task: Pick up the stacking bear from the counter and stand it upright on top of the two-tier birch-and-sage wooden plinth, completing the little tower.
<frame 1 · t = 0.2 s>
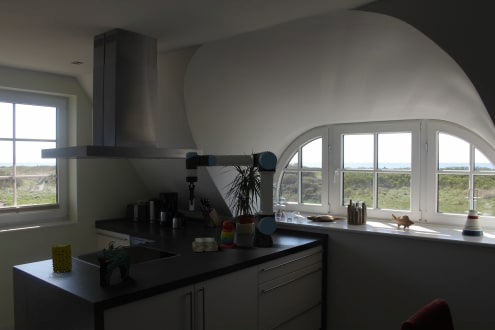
hand: (192, 209, 250), 28 cm above the worktop, tool pointing down, fingers open, 13 cm apart
plinth: (204, 248, 261), on the worktop
stacking bear: (228, 246, 267), on the worktop
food: (62, 271, 209), on the worktop
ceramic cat: (114, 281, 190), on the worktop
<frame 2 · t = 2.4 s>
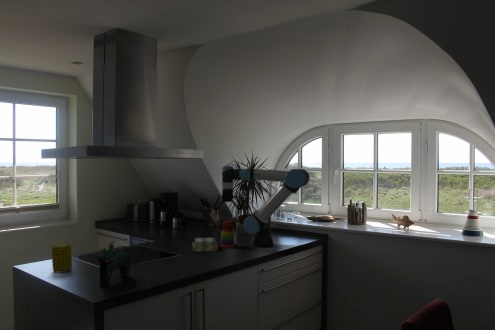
hand: (227, 219, 267), 19 cm above the worktop, tool pointing down, fingers open, 13 cm apart
nothing on the worktop moved.
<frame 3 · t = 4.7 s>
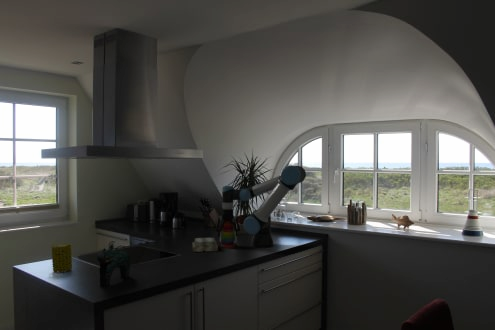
hand: (227, 241, 267), 4 cm above the worktop, tool pointing down, fingers closed on stacking bear, 9 cm apart
stacking bear: (228, 246, 267), on the worktop, touching gripper
everything else where it was.
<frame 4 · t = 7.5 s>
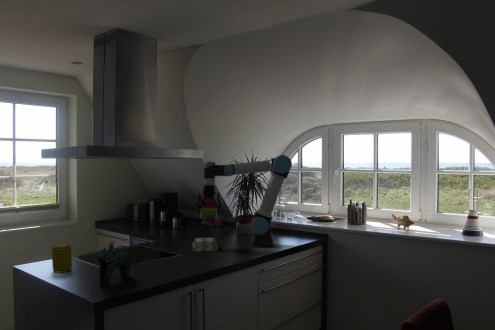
hand: (208, 218, 262), 20 cm above the worktop, tool pointing down, fingers closed on stacking bear, 9 cm apart
stacking bear: (209, 223, 262), point 17 cm above the worktop, touching gripper
everything else where it was.
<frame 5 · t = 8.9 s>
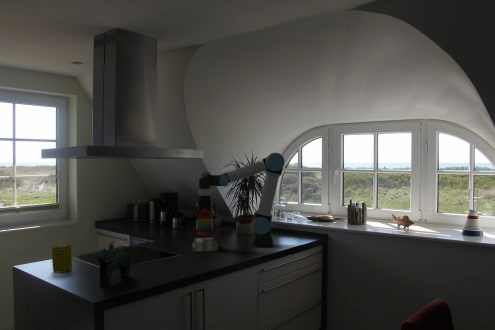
hand: (204, 228, 261), 13 cm above the worktop, tool pointing down, fingers closed on stacking bear, 9 cm apart
stacking bear: (205, 234, 261), point 10 cm above the worktop, touching gripper
everything else where it was.
when the fingers open (11 cm above the worktop, at t = 10.3 s): stacking bear drops 1 cm, resting on plinth.
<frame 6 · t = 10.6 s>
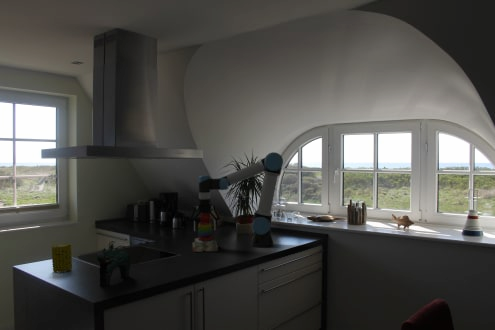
hand: (204, 230, 261), 12 cm above the worktop, tool pointing down, fingers open, 13 cm apart
stacking bear: (205, 240, 261), point 6 cm above the worktop, touching plinth
everything else where it was.
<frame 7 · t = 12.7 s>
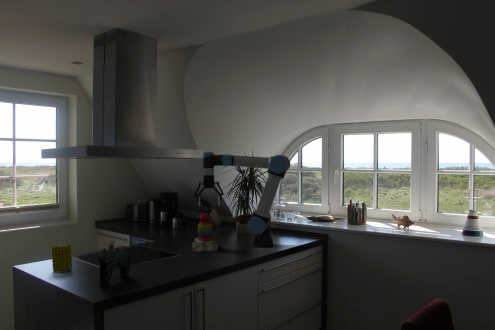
hand: (209, 205, 266), 28 cm above the worktop, tool pointing down, fingers open, 13 cm apart
nothing on the worktop moved.
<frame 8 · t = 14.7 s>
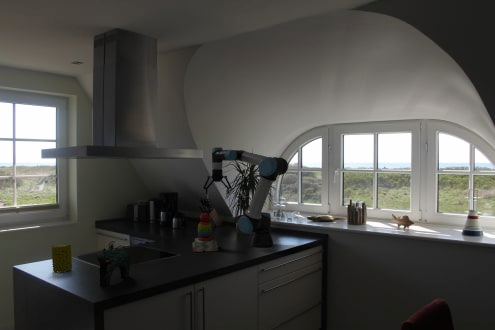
hand: (217, 198, 280), 32 cm above the worktop, tool pointing down, fingers open, 13 cm apart
nothing on the worktop moved.
at the end: stacking bear inside the target area on the plinth (0.3 cm from its centre), point 5.8 cm above the plinth's base; stacking bear tilted 0°; the gripper is holding nothing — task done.
